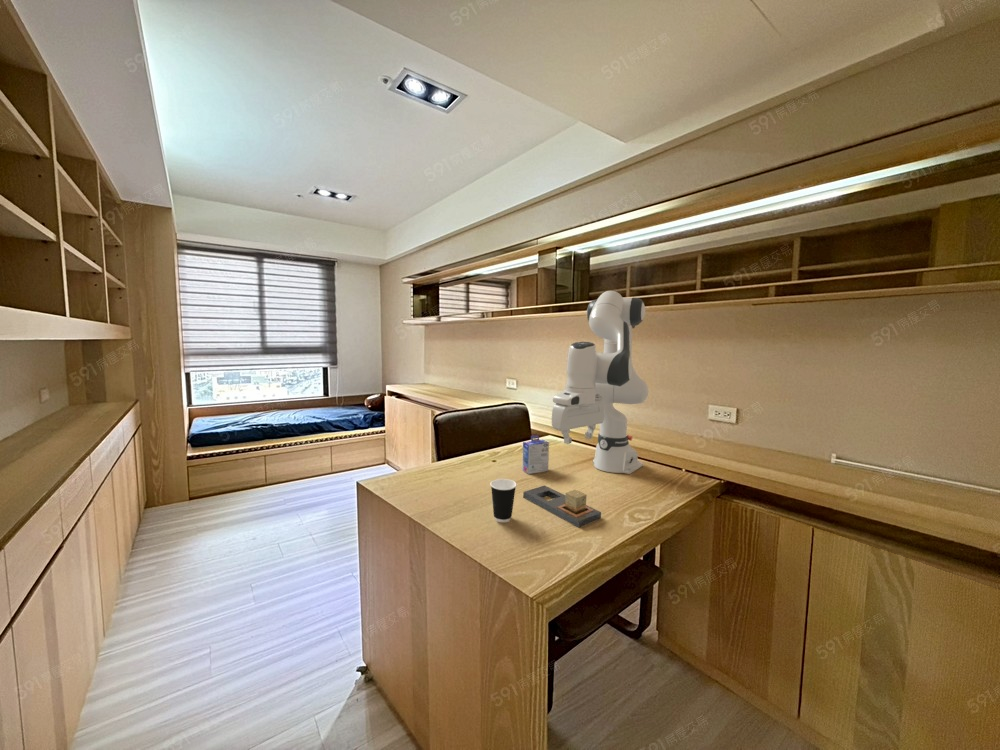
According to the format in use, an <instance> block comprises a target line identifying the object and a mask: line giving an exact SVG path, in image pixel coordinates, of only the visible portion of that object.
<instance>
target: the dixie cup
mask: <svg viewBox="0 0 1000 750" xmlns="http://www.w3.org/2000/svg"><path fill="white" fill-rule="evenodd" d="M489 485H490V488H491V497H492V508H493V509H492V510H493V517H494V520H495V521H496V522H498V523H508V522H510V521H511V517H512V515H513V509H514V508H513V507H514V502H515V494H516V493H515V492H516V487H517V482H516V481H514V480H512V479H508V478H497V479H494V480H492V481H490V483H489Z"/></svg>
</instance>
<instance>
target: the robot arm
mask: <svg viewBox="0 0 1000 750" xmlns="http://www.w3.org/2000/svg"><path fill="white" fill-rule="evenodd" d="M645 316H646V307H645V302H644V300H642V299H641V298H639V297H623V296H622V295H621V293H619V292H618V291H615V290H607V291H605V292H604V291H603V293H601V294H600V295H599V296H598V298H597V299H593V300H592V301H590V302H589V303H588V305H587V309H586V317H587V321H588V326H589V328H590V330H591V332H592V333H594V335H595V336H596V337H598V338H601V339H603V342H604V343H603V352H597V347H596V344H595V343H593V342H591V341H577V342H573V343H571V344H570V345H569V349H568V354H567V359H566V374H567V375H566V376H567V380H566V383H565V389H563V390H562V391H560V392H559V393H557V394H555V395H554V396H553V397H552V402H553V404H554V405H553V406H552V409H551V427H552V428H553V430H556V431H560V433H561V434H562V437H563V443H564V444H566V445H569V444H570V445H571V444H572V441H573V440H572V439H573V438H572V436H571V437H570V433H571V430H574V429H578V428H579V429H580V428H584V427H588V428H587V431H586V432H585V433H584V438H585V439H586V440H591V439H593V436H594V435H593V434H594V432H595V430H596V425H599V433H598V434H597V442H598V443H597V444H596V446H595V447H596V448H595V453H594V454H595V455H594V458H593V459H592V462H593V467H594V468H595V469H597V470H600V471H603V472H607V473H617V474H627V475H630V474H632V473H634V472H635V471H637V470H638V469H640V468H642V467H643V466H644V463H643V462H641V461H640V460H638V451H636V449H635V448H633V446H631V445H630V443H629V441H632V440H633V436H632V435H629V434H628V433H627V431H628V419H627V417H626V415H625V414H624V413H622V411H619V410H617V408H615V406H614V404H625V405H638V404H642V403H644V402H645V401H646V400H647V398H648V396H649V387H648V385H647V383H646V382H645V380H644V379H642V378H641V377H640V376H639V375H638V374H637V372H636V371H635V369H634V365H633V362H632V361H633V360H632V348H633V347H632V346H633V331H632V329H635V328H636V326H638V325H640V324H641V323H642V322H643V321H644V318H645Z"/></svg>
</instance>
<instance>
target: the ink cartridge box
mask: <svg viewBox="0 0 1000 750" xmlns="http://www.w3.org/2000/svg"><path fill="white" fill-rule="evenodd" d="M533 438H534V439H533ZM549 459H550V442H549V441H547V440H545V439H540V437H539V434H538V435H530V441H523V442H522V471H523V472H524V473H526V474H527V475H533V474H538V473H545V472H549Z"/></svg>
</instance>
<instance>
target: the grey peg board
mask: <svg viewBox="0 0 1000 750" xmlns="http://www.w3.org/2000/svg"><path fill="white" fill-rule="evenodd" d="M522 497H523V499H526V500H527V501H529V502H531V503H532V504H534V505H536V506H538V507H540V508H542V509H544V510H545V511H547V512H549V513H551V514H553V515H554V516H556V517H558V518H560V519H561V520H564V521H565V522H568V523H570V524H571V525H573V526H575V527H577V528H579V529H580V528H582V527H585V526H587V525H589V524H591V523H593V522H596V521H598V520H601V518H602V511H599V510H598V509H595V508H593V507H591V506H589V505H587V504H586V511H584V512H582V513H579V514H577V515H576V514H574V513H572V512H570V511H568V510H566V509H565V497H566V494H564V493H562V492H560V491H557V490H555V489H553V488H551V487H549V486H546V485H541V486H538V487H536V488H532V489H528V490H525V491H523V495H522ZM546 497H549V498H552V499H549V500H548V499H545V498H546Z"/></svg>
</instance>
